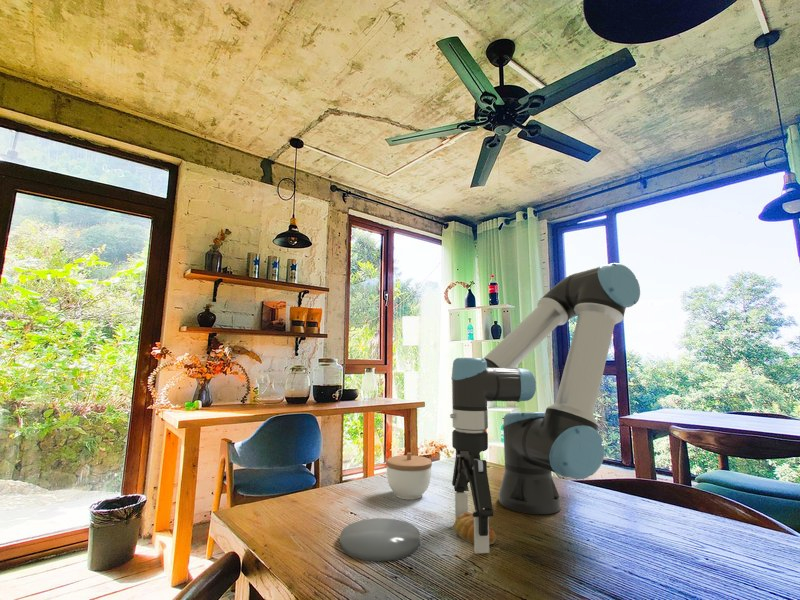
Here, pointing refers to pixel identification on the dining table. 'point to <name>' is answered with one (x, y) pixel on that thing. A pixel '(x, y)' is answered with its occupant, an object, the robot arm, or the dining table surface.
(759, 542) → the dining table surface
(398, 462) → the lidded bowl
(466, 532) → the pastry
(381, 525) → the grey rounded puck
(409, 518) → the dining table surface
